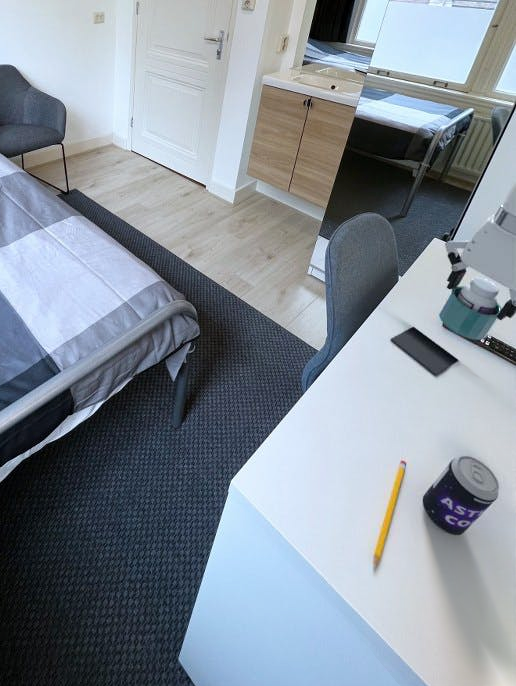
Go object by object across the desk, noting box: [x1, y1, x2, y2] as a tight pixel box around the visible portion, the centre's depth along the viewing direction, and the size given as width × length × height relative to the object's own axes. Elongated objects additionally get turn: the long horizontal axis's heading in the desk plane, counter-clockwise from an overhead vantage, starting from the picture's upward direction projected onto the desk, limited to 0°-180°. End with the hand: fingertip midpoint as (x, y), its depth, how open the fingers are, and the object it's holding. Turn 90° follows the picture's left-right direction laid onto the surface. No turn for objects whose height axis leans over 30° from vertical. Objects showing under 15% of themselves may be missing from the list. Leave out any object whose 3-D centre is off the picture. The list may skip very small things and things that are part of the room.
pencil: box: [373, 460, 407, 568], centre depth 65 cm, size 1×19×1 cm, turn 138°
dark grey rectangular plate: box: [390, 326, 459, 376], centre depth 95 cm, size 10×14×1 cm
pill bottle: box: [457, 277, 500, 315], centre depth 79 cm, size 5×5×10 cm
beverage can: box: [422, 455, 500, 536], centre depth 63 cm, size 6×6×12 cm
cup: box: [438, 285, 503, 341], centre depth 80 cm, size 8×8×6 cm
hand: (476, 300), depth 78 cm, fingers closed on cup, 7 cm apart
